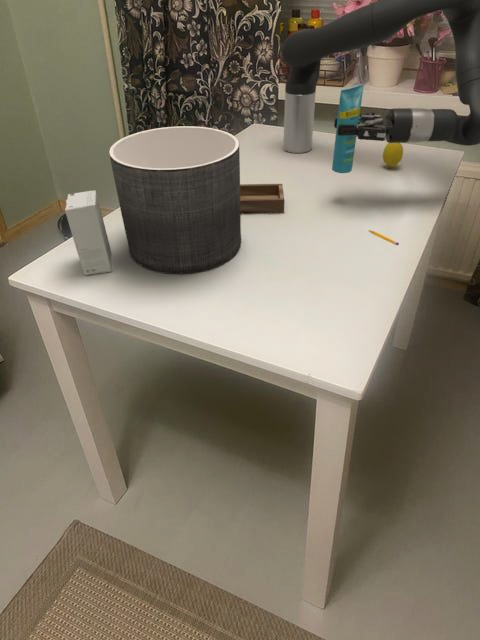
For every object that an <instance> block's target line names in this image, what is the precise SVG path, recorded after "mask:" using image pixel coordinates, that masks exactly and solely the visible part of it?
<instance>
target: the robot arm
mask: <svg viewBox="0 0 480 640" xmlns="http://www.w3.org/2000/svg"><path fill="white" fill-rule="evenodd" d="M436 12H442V14H443V15H444V18H446V20H447V22H448V26H449V28H450V31H451V33H452V37H453V43H454V48H455V51H454V52H455V53H454V54H455V59H454V69H455V70H454V71H455V72H454V73H455V80H456V87H457V93H458V99H459V101H460V103H461V104H462V105H464V106H465V105H466V106H469V114H468V115H467V116H458V114H457V112H456V111H455V110H454V109H450V108H423V107H416V108H415V107H413V108H412V107H411V108H410V107H407V108H406V107H405V108H404V107H403V108H402V107H399V108H398V107H397V108H394V107H393V108H391V109H389V111H388V113H387V115H386V116H382V115H380V114H376V112H375V111H371V112H364V113H363V112H362V113H361V112H360V116H359V123H358V124H357V125H339V126H338V129H337V120H338V117H336V118H335V119H334V123H333V126H334V129H337V134H338V135H339V136H344V135H354V136H355V137H356V138H357V139H358V140H362V141H364V140H365V141H366V140H367V141H378V142H379V141H381V142H385V140H386V142H387V144H388V143H401V144H412V143H417V144H418V143H423V142H447V143H451V144H455V145H460V146H465V147H466V146H470V147H471V146H477V145H479V144H480V0H377V1H374V2H372V3H369V4H366V5H364V6H361V7H358V8H356V9H354V10H352V11H350V12H348V13H346V14H343V15H342V16H339V17H338V18H336V19H334V20H332V21H330V22H328V23H326V24H324V25H321V26H318V27H315V28H304V29H300V30H297V31H294V32H291V33H290V34H289V36H287V37H286V38H285V40H284V42H283V44H282V47H281V58H282V60H283V62H284V63H285V64H286V65H287V66H289V67H290V73H289V75H288V78H287V79H286V81H285V87H284V88H285V89H284V91H285V92H284V118H283V119H284V120H283V123H284V124H283V150H284V151H286V152H289V153H295V154H301V153H302V154H303V153H308V152H309V151H311V150H312V148H313V136H314V135H313V134H314V122H315V120H314V119H315V105H316V91H317V85H318V81H319V78H320V70H321V61H322V59H323V58H326V57H328V56H331V55H334V54H339V53H345V52H351V51H355V50H359V49H362V48H366V47H370V46H372V45H376V44H379V43H382V42H385V41H387V40H389V39H391V38H393V37H394V36H395V35H396V34H398V33H399V32H400V31H401V30H403V29H404V28H405V27H406V26H407V25H408V24H409V23H411V22H413V21H415V20H416V19H419V18H421V17H423V16H426V15H429V14H432V13H436ZM354 126H355V127H354Z"/></svg>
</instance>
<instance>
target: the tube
mask: <svg viewBox="0 0 480 640" xmlns="http://www.w3.org/2000/svg"><path fill="white" fill-rule="evenodd" d="M364 85H365V84H364V83H362V84H358V85H355V86H353V87H349V88H344V89H341V90H340V94H339V102H338V103H339V104H338V110H337V113H338V114H337V118H338V120H337V128H335V129H336V132H335V141H334V149H333V156H332V163H331V165H332V166H331V167H332V168H331V169H332V172H334V173H338V174H349V173H350V172H352V169H353V166H354V157H355V149H356V143H357V142H356V141H357V137H355V136H354V135H344V136H339V135H338V134H337V129H338V126H339V125H357V124H358V123H359V122H360V121H359V116H360V114H361V109H362V102H363V101H362V99H363V93H364V87H365V86H364ZM354 127H355V126H354Z"/></svg>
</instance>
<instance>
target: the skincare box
mask: <svg viewBox="0 0 480 640" xmlns="http://www.w3.org/2000/svg"><path fill="white" fill-rule="evenodd" d="M65 202H66V205H65V209H64V212H65V215H66V219H67V222H68V225H69V229H70V232H71V235H72V240H73V243H74V245H75V248H76V252H77V255H78V259H79V262H80V265H81V269H82V272H83V275H84V276H89V275H94V274H106V273H111V272H112V271H113V269H112V256H113V255H112V254H113V253H112V248H111V246H110V241H109V238H108V234H107V229H106V225H105V222H104V218H103V214H102V210H101V207H100V203H99V198H98V194H97V190H95V189H94V190H87V191H81V192H74V193H69V194H67V199H66V200H65Z"/></svg>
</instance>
